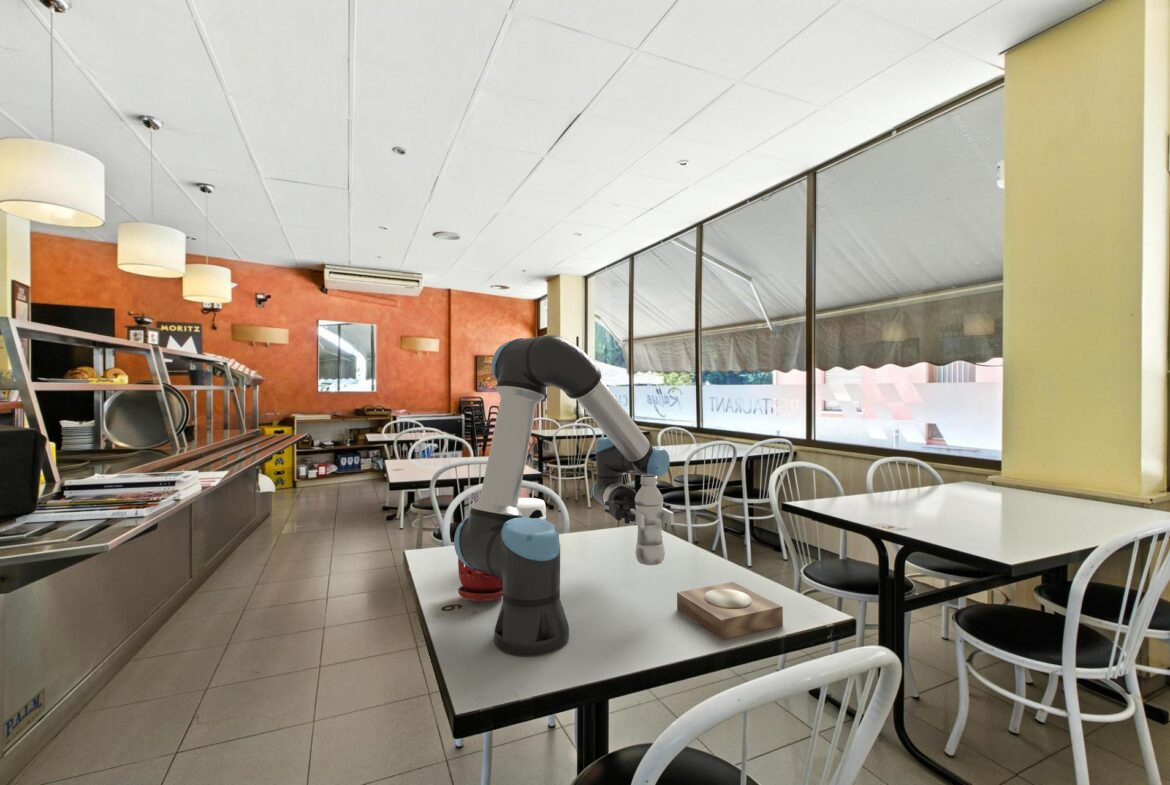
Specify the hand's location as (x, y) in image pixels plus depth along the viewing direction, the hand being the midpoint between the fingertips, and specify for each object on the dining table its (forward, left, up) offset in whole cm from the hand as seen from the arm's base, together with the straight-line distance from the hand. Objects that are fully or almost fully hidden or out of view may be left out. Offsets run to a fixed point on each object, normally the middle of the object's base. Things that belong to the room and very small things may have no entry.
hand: (657, 520), depth 112 cm
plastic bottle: (+4, +2, -11) cm, 12 cm away
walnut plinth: (+6, -14, -22) cm, 27 cm away
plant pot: (0, +43, -21) cm, 48 cm away
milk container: (+28, +46, -22) cm, 58 cm away
